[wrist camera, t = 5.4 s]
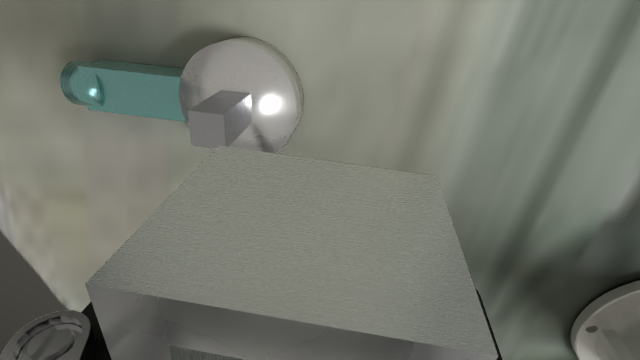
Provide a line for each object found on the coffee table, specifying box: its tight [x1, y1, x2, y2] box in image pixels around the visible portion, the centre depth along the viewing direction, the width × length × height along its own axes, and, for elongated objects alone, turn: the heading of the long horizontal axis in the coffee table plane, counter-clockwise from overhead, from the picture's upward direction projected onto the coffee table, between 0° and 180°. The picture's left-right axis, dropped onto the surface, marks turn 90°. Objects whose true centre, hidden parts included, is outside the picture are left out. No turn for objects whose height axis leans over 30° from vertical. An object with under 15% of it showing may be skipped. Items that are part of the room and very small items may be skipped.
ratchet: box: [61, 37, 304, 153], centre depth 22 cm, size 16×8×7 cm, turn 86°
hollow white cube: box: [85, 146, 498, 360], centre depth 8 cm, size 6×6×5 cm
